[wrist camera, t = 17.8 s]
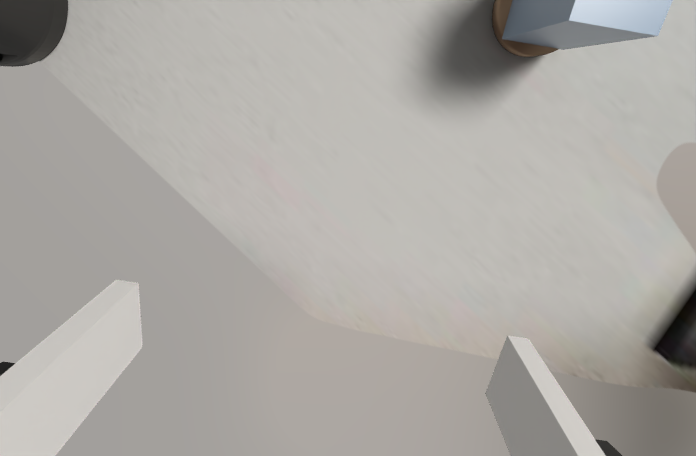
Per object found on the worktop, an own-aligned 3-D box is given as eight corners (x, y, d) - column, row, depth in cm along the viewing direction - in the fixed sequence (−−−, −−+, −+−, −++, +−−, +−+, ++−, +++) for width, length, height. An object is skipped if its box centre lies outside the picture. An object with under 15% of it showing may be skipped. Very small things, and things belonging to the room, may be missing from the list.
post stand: (475, 18, 36) (505, 3, 29) (538, -60, 34) (589, -99, 27) (530, 74, 38) (572, 72, 31) (594, 3, 36) (657, -17, 28)
